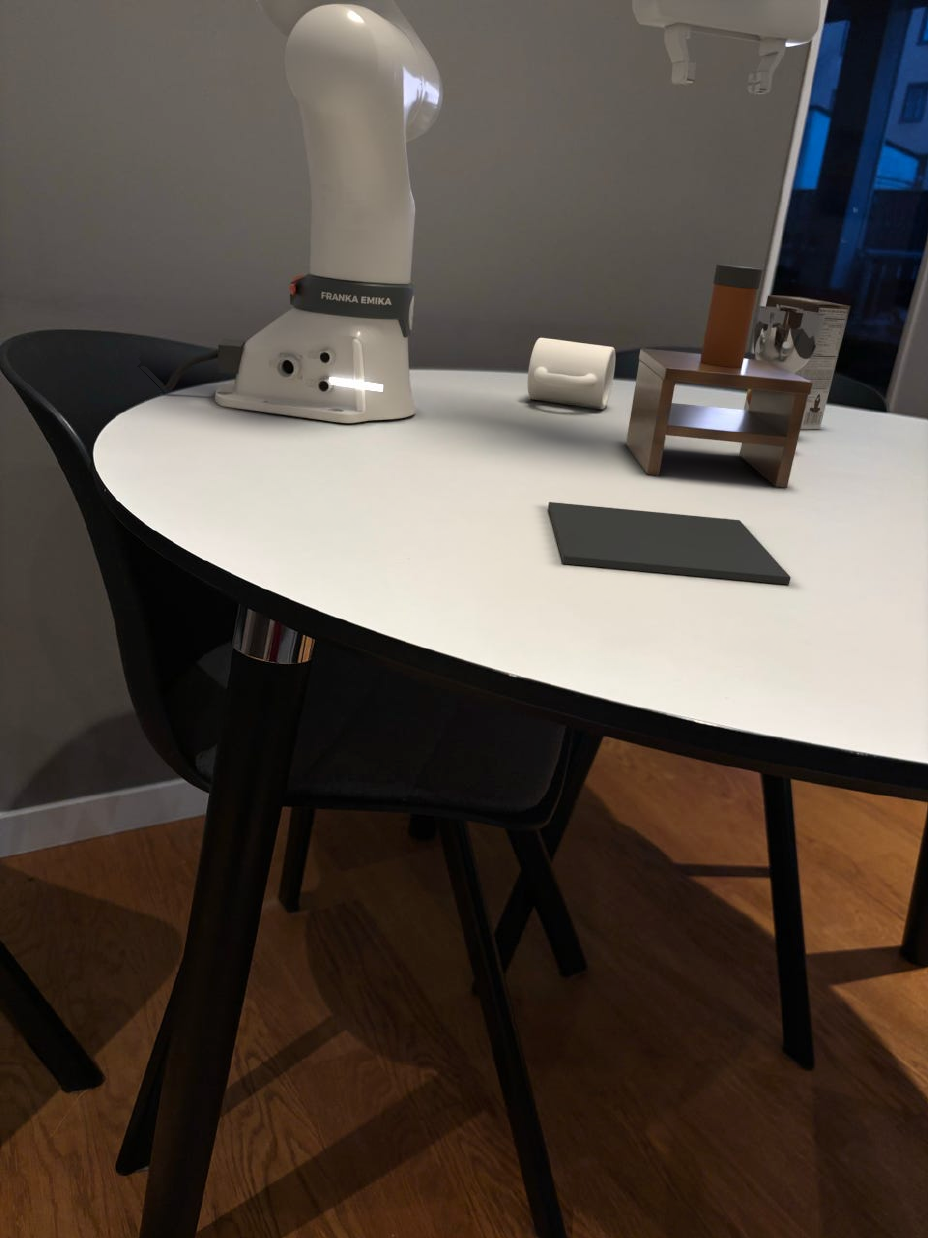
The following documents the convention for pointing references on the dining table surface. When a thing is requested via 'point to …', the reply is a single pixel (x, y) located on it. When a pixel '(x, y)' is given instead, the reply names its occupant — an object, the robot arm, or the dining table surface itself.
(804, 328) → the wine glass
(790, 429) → the shelf
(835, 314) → the coffee box
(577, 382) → the mug
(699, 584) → the dining table surface
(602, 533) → the mat
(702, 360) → the spice bottle
